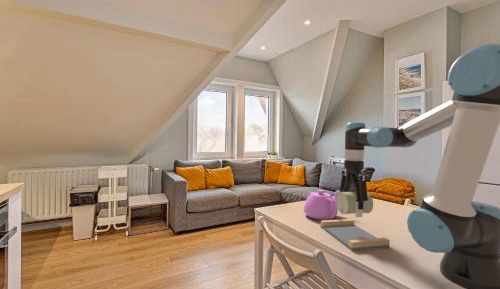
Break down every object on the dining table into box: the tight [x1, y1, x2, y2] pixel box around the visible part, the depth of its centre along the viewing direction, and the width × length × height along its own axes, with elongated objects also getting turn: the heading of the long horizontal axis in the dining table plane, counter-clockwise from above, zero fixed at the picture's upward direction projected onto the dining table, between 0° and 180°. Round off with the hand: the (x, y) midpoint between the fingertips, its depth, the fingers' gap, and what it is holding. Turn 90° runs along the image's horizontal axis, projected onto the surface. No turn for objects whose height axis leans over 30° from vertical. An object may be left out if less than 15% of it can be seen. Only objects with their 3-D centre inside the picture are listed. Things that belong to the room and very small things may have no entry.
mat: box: [320, 218, 390, 252], centre depth 105 cm, size 24×16×3 cm, turn 11°
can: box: [336, 191, 374, 215], centre depth 105 cm, size 9×9×12 cm
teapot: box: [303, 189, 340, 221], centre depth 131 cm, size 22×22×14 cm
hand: (351, 213), depth 105 cm, fingers closed on can, 9 cm apart
